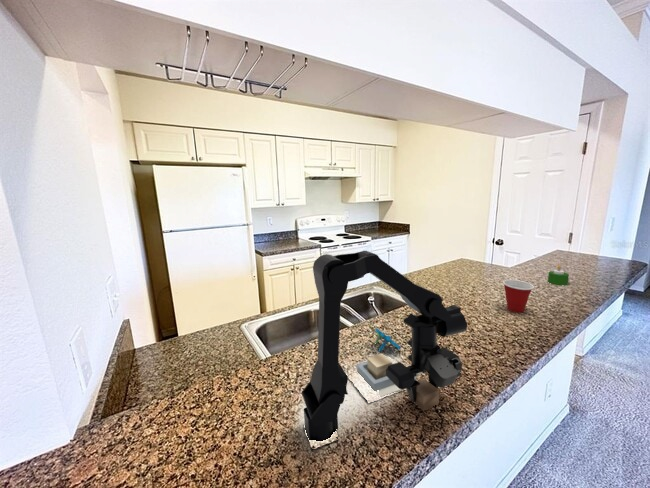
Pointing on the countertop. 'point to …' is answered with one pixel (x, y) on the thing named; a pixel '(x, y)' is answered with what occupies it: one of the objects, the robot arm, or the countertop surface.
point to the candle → (558, 277)
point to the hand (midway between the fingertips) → (423, 397)
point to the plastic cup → (517, 294)
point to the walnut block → (426, 395)
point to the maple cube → (378, 365)
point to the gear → (385, 340)
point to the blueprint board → (378, 380)
